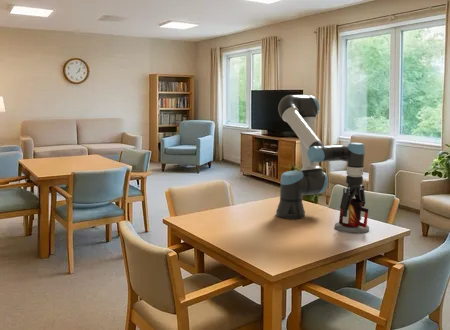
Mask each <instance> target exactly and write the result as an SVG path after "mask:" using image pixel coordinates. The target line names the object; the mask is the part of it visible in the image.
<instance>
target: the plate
mask: <svg viewBox="0 0 450 330" xmlns="http://www.w3.org/2000/svg"><path fill="white" fill-rule="evenodd" d="M334 229H335V230H336V231H339V232H342V233H347V234H358V235H359V234H366V233H368V232H369V231H370V226H369V225H367V226H366V228H364V227H362V226H359V227H347V226H343V225H341V224H339V221H338V222H336V223H335V224H334Z"/></svg>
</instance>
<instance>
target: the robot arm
mask: <svg viewBox="0 0 450 330" xmlns="http://www.w3.org/2000/svg"><path fill="white" fill-rule="evenodd" d="M277 109H278V110H277V112H278V114H279V116H280V118H281V119H282V120H283V121H284V122H285V123H287V124H288V126H289V127H290V128H291V130H292V131H293V132H294V133H295V135H296V136H297V137H298V138H299V145H300V154H301V163H302V168H300V170H289V171H285V172H282V173H281V175H280V181H279V182H280V187H279V189H280V190H279V191H280V192H279V201H278V202H279V203H278V205H277V208H276V212H275V213H276V214H275V215H276V217H278V218H282V219H286V220H287V219H288V220H300V219H304V218H305V217H306V211H305V208H304V204H303V196H309V195H318V194H323V193H324V192H325V191H326V190H327V188H328V185H329V178H328V175H327V174H326V173H325V172H324V171H323V168H322V167H321V166H320V165H319V164H320V163H323V162H336V161H337V162H339V161H341V162H347V163H346V164H347V165H346V178H345V179H346V181H345V182H346V184H347V187H343V189H342V191H343V192H342V197H341V200H342V201H341V202H340V206H339V208H340V209H343V223H346V224H348V221H349V210H348V208H349V205H350V203H351V200H352V198H354V199H356V201H357V202H361V201H362V207H363V208H365V205H366V197H365V195H366V194H365V185H363V182H364V181H363V180H364V176H363V175H364V164H365V154H366V153H365V150H366V148H365V147H366V146H365V144H364V143H362V142H349V143H348V145H343V144H332V145H325V144H324V143H323V141H321V139H320V138H319V137H318V135H317V134H316V130H315V121H316V119H317V116H318V115H319V111H320V103H319V101H318V99H317V98H316V97H315V96H313V95H311V94H287V95H285V96H283V97H282V98H281V100H280V101H279V103H278V107H277ZM340 209H339V210H340ZM362 215H363V211H361V217H360V221H362Z"/></svg>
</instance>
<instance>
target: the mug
mask: <svg viewBox="0 0 450 330" xmlns="http://www.w3.org/2000/svg"><path fill="white" fill-rule="evenodd" d="M341 201H342V199H341ZM362 202H363V201H361V202H357V201H356V198H355V197H353V198H352V200H351V203H350V205H349V208H348V210H349V221H348V224H346V223H343V209H339V211H340V212H339V217H338V218H339V220H338V222H339V224H341V225H343V226H347V227H359V226H362V227H364V228H366V226H368V214H369V208H366V207H362ZM361 211H362V213H364V218H363V222H361V220H360V217H361V218H362V216H361Z"/></svg>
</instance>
